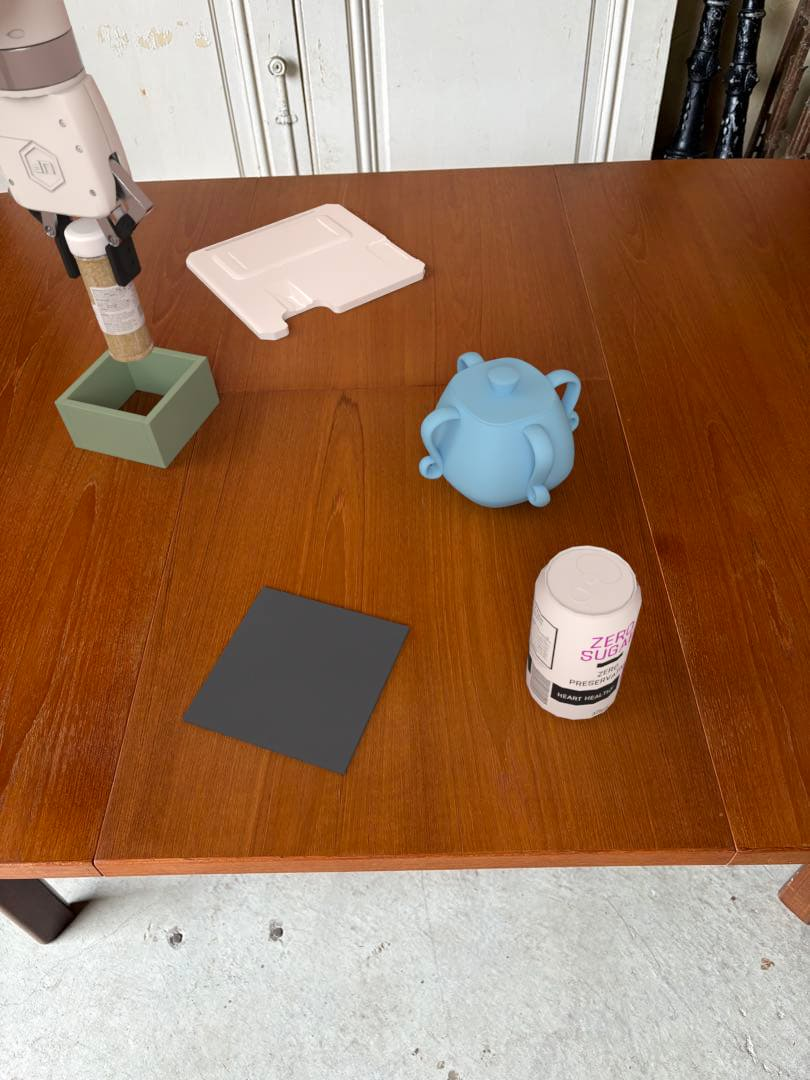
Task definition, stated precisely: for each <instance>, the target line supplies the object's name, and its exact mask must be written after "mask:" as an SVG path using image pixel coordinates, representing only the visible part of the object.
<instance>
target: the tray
mask: <svg viewBox="0 0 810 1080" xmlns="http://www.w3.org/2000/svg"><path fill="white" fill-rule="evenodd" d="M185 264H186V267H187V269H189V270H190V271H191V272H192V274H193V275H195V276H196V277H197V279H199V280H200V281H201V282H202V283H203V284H204V286H205V287H207V288H208V290H210V291H211V292H212V293H213V294H214V295H215V297H217V298H218V299H219V300H220V301H221V302H222V303H223V304H224V305H225V306H226V307H227V308H228V309H229V310H230V311H231V312H232V313H233V314H234V315H235V316H236V317H238V319H239V320H240V321H241V322H242V323H243V324H244V325H246V327H247V328H248V329H249V330H251V332H252V333H254V334H255V335H256V337H257V338H258V339H259V340H265V341H277V340H281V339H283V338H285V337H287V336H288V335H289V334H290V330H289V325H288V322H287V323H286V322H285V321H286V320H287V319H289V318H292V317H294V316H297V315H299V314H302V313H304V312H306V311H308V310H311V309H314V308H318V307H324V308H325V307H326V308H328V309H330V310H331V311H332V312H333V313H335V314H342V313H344V312H347V311H350V310H351V309H354V308H357V307H359V306H361V305H363V304H366V303H368V302H371V301H373V300H376V299H378V298H380V297H383V296H385V295H387V294H391V293H392V292H394V291H398V290H400V289H402V288H405V287H407V286H409V285H412V284H414V283H417V282H419V281H422V280H423V279H424V276H425V273H426V269H425V267H426V264H425V263H424V262H423V261H421V260H420V259H418V258H417V259H416V257H413V256H412V255H410V254H409V253H407V252H406V251H405V250H403V249H402V248H400V247H399V246H397V245H396V244H394V243H393V241H392V242H391V240H389V239H388V238H387V236H385V235H384V234H382V233H381V232H379V231H378V229H376V228H374V227H372V226H371V225H370V224H368V223H367V222H366V221H364V220H362V219H361V218H360V217H358V216H357V215H355V214H354V213H352V212H351V211H349V210H348V209H347V208H345V207H344V206H342V205H341V204H339V203H325V204H322V205H319V206H317V207H314V208H310V209H308V210H306V211H303V212H300V213H297V214H294V215H292V216H289V217H286V218H284V219H280V220H278V221H274V222H272V223H270V224H266V225H264V226H261V227H259V228H256V229H252V230H250V231H248V232H245V233H242V234H239V235H236V236H233V237H231V238H228V239H225V240H223V241H220V242H217V243H214V244H212V245H209V246H205V247H203V248H201V249H200V248H199V249H197V250H195V251H192V252H190V253H189V254H188V255H187V257H186V260H185Z"/></svg>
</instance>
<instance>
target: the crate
mask: <svg viewBox="0 0 810 1080" xmlns="http://www.w3.org/2000/svg"><path fill="white" fill-rule="evenodd" d="M216 387H217V386H216V384H215V381H214V376H213V374H212V369H211V366H210V363H209V359H208V356H204V355H199V354H193V353H187V352H185V351H184V352H183V351H178V350H173V349H168V348H163V347H158V346H154V348H153V351H152V352H151V353H150V354H149V355H148V356H146V357H145V358H143V359H141V360H138V361H134V362H119V361H116V360H115V359H113V358H112V357H111V355H110V353H109V348H107V349H106V350H105V351H104V352H103V353H102V354H101V355H100V357H98V358H97V359H96V360H95V361H94V362H93V363H92V364H91V365H90V366H89V367H88V368H87V369H86V370H85V371H84V372H83V373H82V374H81V375H80V376H79V377H78V378H77V379H76V380H75V381H74V382H73V383H72V384H71V385H69V387H68V388H67V389H66V390H65V391H64V392H63V393H61V395H60V396H59V397H58V398H56V400H55V401H54V405H55V407H56V409H57V411H58V413H59V415H60V417H61V419H62V421H63V423H64V425H65V428H66V430H67V432H68V434H69V437H70V438H71V441H72V442H73V445H74V446H75V448H78V449H82V450H85V451H90V452H95V453H99V454H103V455H108V456H111V457H114V458H115V457H116V458H119V459H123V460H128V461H133V462H136V463H140V464H143V465H144V464H145V465H148V466H151V467H152V466H153V467H158V468H162V469H168V467H169V466H170V465H171V464H172V462H173V461H174V459H175V458H176V457H177V456H178V455H179V453H180V452H181V451H182V450H183V449H184V447H185V446H186V445H187V444H188V442H189V441H190V440H191V439H192V438H193V436H194V435H195V434H196V432H197V431H198V430H199V429H200V427H201V426H202V425H203V424H204V422H205V421H206V420H207V419H208V417H209V416H210V415H211V414H212V412H213V411H214V410H215V409H216V407H217V406H219V404H220V403H221V402H220V398H219V394H218V391H217V388H216ZM137 391H140V392H145V393H151V394H155V395H158V396H159V395H160V396H163V397H162V398H161V399H160V400H159V401H158V402H157V404H156V405H155V406H154V407H153V408H152V410H151V411H150V412H149V413H148V414H147V415H146V416H145V415H141V414H137V413H132V412H128V411H124V410H119V409H121V407H123V405H124V404H125V403H126V402H127V401H128V400H129V399H130V398H131V397H132V396H133V394H134V393H135V392H137Z"/></svg>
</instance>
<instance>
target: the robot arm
mask: <svg viewBox="0 0 810 1080" xmlns="http://www.w3.org/2000/svg"><path fill="white" fill-rule="evenodd" d="M126 155H127V154H126V151H125V148H124V146H123V144H122V140H121V138H120V135H119V133H118V129H117V127H116V125H115V123H114V120H113V117H112V115H111V113H110V110H109V108H108V106H107V104H106V101H105V99H104V97H103V95H102V93H101V91H100V89H99V87H98V85H97V83H96V81H95V79H94V77H93V76H92V74H90V73H87V71H86V68H85V65H84V61H83V58H82V55H81V52H80V48H79V46H78V42H77V38H76V36H75V33H74V30H73V26H72V23H71V20H70V17H69V14H68V10H67V8H66V4H65V1H64V0H0V168H1V171H2V173H3V176H4V179H5V181H6V184H7V186H8V187H7V193H8V195H9V196H10V197H11V198H12V199H13V200H15V202H16V203H17V204H18V205H20V206H21V207H23V208H24V209H27V211H28V212H29V214H30V215H31V216H32V217H33V218H34V219H36V220H37V221H38V222H39V223H40V224H41V225H42V226H43V231H44V232H45V234H46V236H48V237H50V238H53V239H54V242H55V246H56V247H57V250H58V253H59V255H60V256H59V257H60V258H61V261H62V263H63V266H64V269H65V271H66V273H67V276H68V278H69V279H74V280H77V279H78V278H80V277H81V276H82V275H81V273H80V270H79V267H78V264H77V262H76V259H75V258H74V255H73V254H72V253H71V251H70V249H69V246H68V244H67V241H66V238H65V235H64V231H65V229H66V227H67V226H68V225H69V224H70V223H72V222H74V221H75V220H74V217H77V218H91V219H96V221H97V222H98V224H99V226H100V228H101V230H102V232H103V233H104V235H105V237H106V239H107V241H108V242H109V244H108V245H106V246H105V251H106V254H107V257H108V260H109V263H110V266H111V269H112V272H113V275H114V277H115V280H116V283H117V284H118V286H122V287H125V286H127V285H128V284H129V283H130V282H131V281H132V280H133V281H134V279H135V278H136V277H138V276H139V275H140V274H141V272H142V266H141V263H140V259H139V257H138V252H137V250H136V249H137V248H136V246H135V244H134V239H133V237H132V235H133V234H134V233H135V232H136V230H137V227H138V225H140V223H141V221H142V220H143V219H144V218H145V217H146V216H147V215H148V214H149V213H151V212H152V211H153V209H154V204H153V201H152V200H151V199H150V197H148V196H147V195H146V194H145V192H144V191H143V190H142V189H141V188H140V186H138V184H137V183H136V181H134V179H133V175H132V171H131V168H130V164H129V162H128V158H127V156H126ZM123 201H124V202H125V203H126V205H127V207H128V209H127V207H126V206H125V203H124V202H123ZM111 214H113V216H114V217H115V220H116V221H117V222H114V223H115V225H114V223H113V221H114V220H113V219H112V218H111ZM112 220H113V221H112Z"/></svg>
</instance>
